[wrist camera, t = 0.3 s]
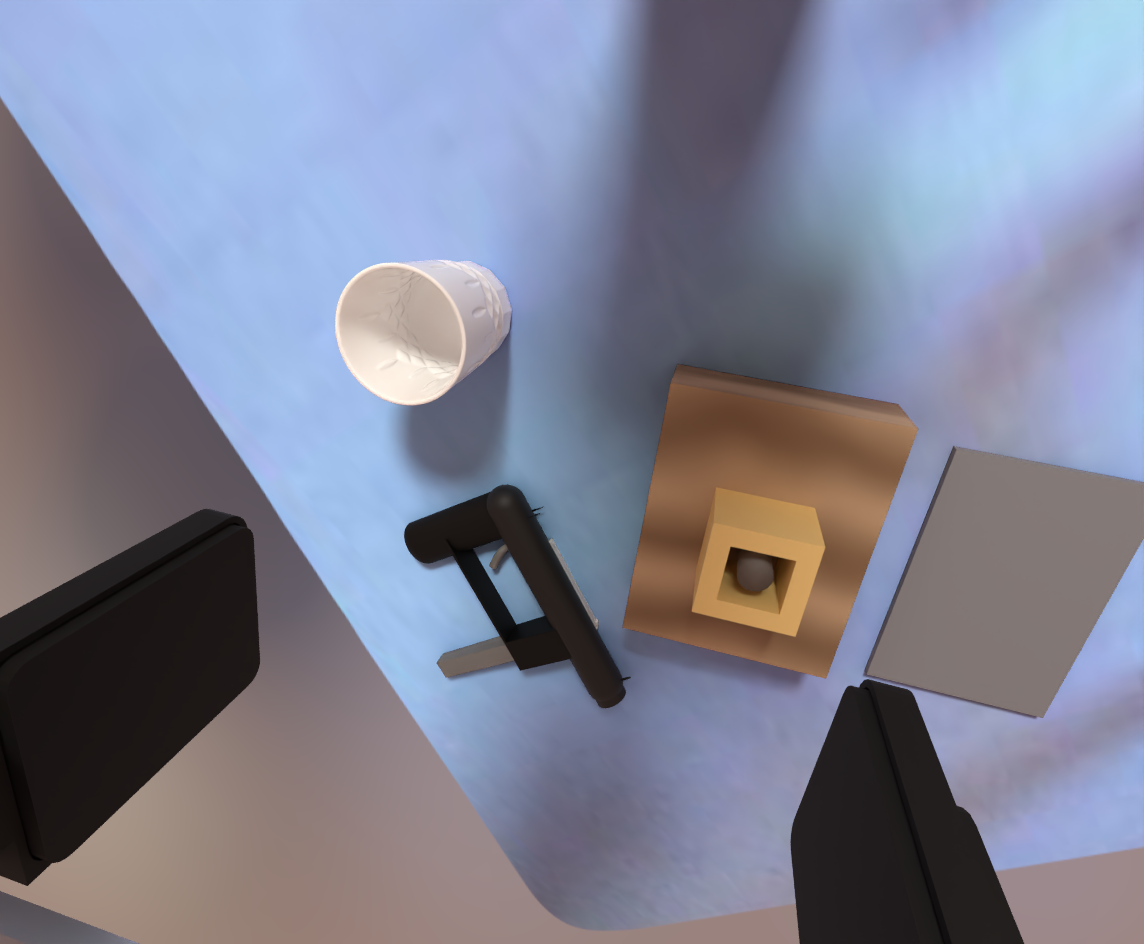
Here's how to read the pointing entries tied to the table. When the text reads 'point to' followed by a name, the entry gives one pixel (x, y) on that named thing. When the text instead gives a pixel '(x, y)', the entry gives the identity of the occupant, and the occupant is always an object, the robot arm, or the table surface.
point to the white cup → (420, 326)
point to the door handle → (548, 577)
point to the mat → (1008, 579)
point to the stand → (772, 470)
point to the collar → (760, 531)
